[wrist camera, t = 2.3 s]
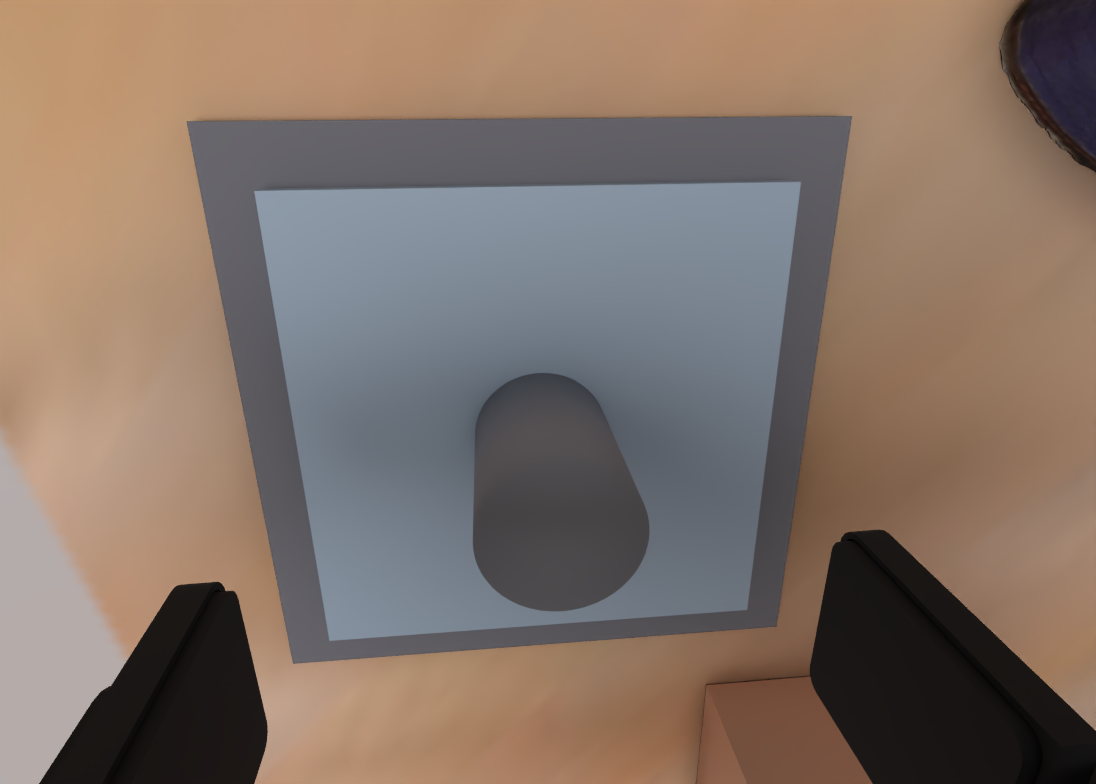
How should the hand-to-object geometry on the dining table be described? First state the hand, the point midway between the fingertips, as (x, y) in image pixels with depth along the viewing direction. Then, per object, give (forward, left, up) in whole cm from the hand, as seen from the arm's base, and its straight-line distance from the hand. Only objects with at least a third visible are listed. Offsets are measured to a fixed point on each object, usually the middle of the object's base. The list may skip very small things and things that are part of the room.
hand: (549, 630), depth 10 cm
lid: (-1, 0, -9) cm, 9 cm away
